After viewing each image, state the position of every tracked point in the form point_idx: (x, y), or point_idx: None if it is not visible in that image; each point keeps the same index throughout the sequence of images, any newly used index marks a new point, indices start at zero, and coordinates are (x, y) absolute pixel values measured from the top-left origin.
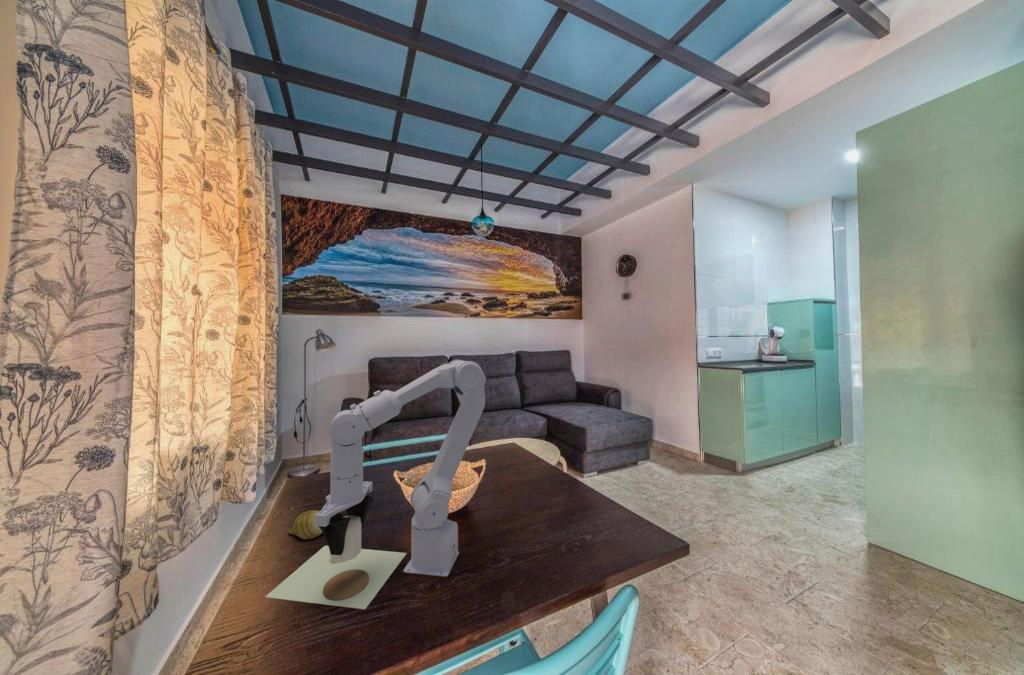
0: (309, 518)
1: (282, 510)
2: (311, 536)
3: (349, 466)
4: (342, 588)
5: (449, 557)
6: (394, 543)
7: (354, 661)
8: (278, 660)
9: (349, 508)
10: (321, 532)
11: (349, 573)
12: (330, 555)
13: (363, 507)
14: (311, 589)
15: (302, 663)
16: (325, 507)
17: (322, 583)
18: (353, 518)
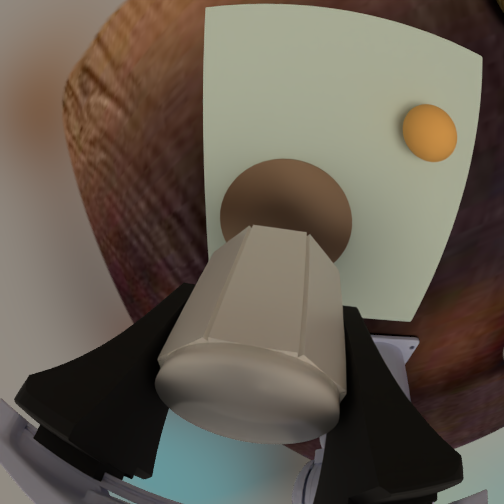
0: None
1: None
2: (501, 4)
3: None
4: (261, 224)
5: None
6: (468, 274)
7: (130, 307)
8: (88, 197)
9: (356, 451)
10: None
11: (332, 212)
12: (232, 242)
13: (320, 487)
14: (254, 123)
15: (99, 239)
16: (25, 486)
17: (286, 142)
18: (294, 429)
